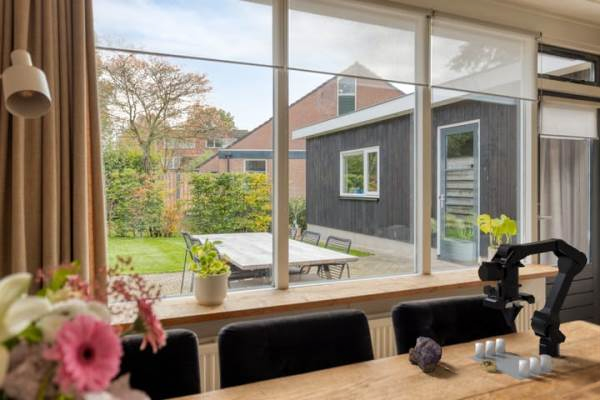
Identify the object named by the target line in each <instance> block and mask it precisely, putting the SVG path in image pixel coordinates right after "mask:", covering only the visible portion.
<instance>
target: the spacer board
mask: <svg viewBox="0 0 600 400" xmlns="http://www.w3.org/2000/svg"><path fill="white" fill-rule="evenodd" d="M468 358H469V359H471V360H473V361H475V362H478V363H480V364H481V361H483V360H489V359H490V360H492V361H494V362H496V365H497V371H498V372H500V373H503V374H505V375H507V376H508V377H511V378H513V379H516V380H519V381H522V380H523V381H524V380H526V379H529V378H533V377H538V376H540V375H544V374H547V373H551V372H555V370H554V369H552V357H551V356H549V355H540V358H539V357H535V356H530V357H529V360H528V359H526V358H523V357H521V356H518V355H516V354H512V353H510V352H508V351H506V339H504V338H496V339H495V341H494V340H486V341H485V343H482V342H475V355H473V356H469V357H468Z"/></svg>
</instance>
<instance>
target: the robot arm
mask: <svg viewBox="0 0 600 400" xmlns="http://www.w3.org/2000/svg"><path fill="white" fill-rule="evenodd" d="M551 252H552V253H553V256H555V257H556V258H557V261H556V263H557V269H558V272H557V274H556V276H555V279H554V282H553V284H552V286H551V289H550V291H549V293H548V296H547V298H546V301H545V303H544V306H543V307H542V309H540V310H538V309H535V310H534V311H533V314H532V316H531V318H530V319H529V320H530V321H531V322H530V326H531V329H532V331H533V333H534V336H535V337H538V338H539V341H538V342H539V344H538V355H539V356H541V355H549V356H551V358H557V359H558V358H559V359H564V358H565V356H564V355H562V354H560V350H561V347H560V346H561V345H560V344H562V343H563V344H564V343H565V342H566V338H567V336H566V335H565V334H564V333H563V332H562V331H561V330H560V326H561V319H560V312H561V310H562V307H563V305H564V303H565V300H566V297H567V295H568V293H569V291H570V288H571V285H573V282H574V278H575V277H577V276H578V275H579V274H580V273H581V272H583V271H584V268H585V267H586V265H587V264H588V260H589V259H588V257H587V254H586V253H584V251H581V250H579V249H578V248H576V247H574V246H572V245H570V243H569V244H568V243H567V242H566V241H565V240H564V239H562V238H555V237H554V238H553V237H551V238H549V239H544V240H543V239H542V240H537V241H533V242H532V241H531V242H527V243H512V242H511V243H510V242H507V243H505V242H503V243H500V244H499V246H498V247H497V250H496V252H494V255H493V256H492V258H491V260H490V261H486V260H482V261H481V265H479V267H478V270H477V276H478V278H479V280H480V282H484V283H485V282H496V286H491V285H490V284H488V285H486V284H485V285H484V286H483V294H484V296H487V297H485V298H484V299H483V306H484V307H488V308H490V309H494V310H501V311H502V313H503V316H504V319H505V321H506V325H507V326H511V327H512V326H513V324H514V322H515V320H516V318H517V317H518V315H519V314H520V312H521V311H522V309H524V307H525V306H524V305H521V302H527V304H529V305H532V304H536V297H535V296H534V295H533V294H530V293H526V292H523V291H522V292H520V288H522V287H523V284H522V283H520V268H525V267H526V265H525V264H523V263H522V262H521V261H522V260H524V259H526V258H527V257H529V256H533V255H538V254H539V255H541V254H544V253H545V254H546V253H551Z"/></svg>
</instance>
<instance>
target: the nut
mask: <svg viewBox="0 0 600 400" xmlns="http://www.w3.org/2000/svg"><path fill="white" fill-rule="evenodd" d="M479 367H480V370H483V371H484V372H486V373H496V372H497V371H498V370H497V365H496V362H494V361H492V360H490V359H489V360H483V361H481V363H480V364H479Z"/></svg>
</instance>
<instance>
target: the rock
mask: <svg viewBox="0 0 600 400" xmlns="http://www.w3.org/2000/svg"><path fill="white" fill-rule="evenodd" d="M442 355H443V348H442V346H440V344H439V343H437V342H436V341H435V340H434V339H432V338H430V337H427V336H426V337H425V336H419V337H418V338H416V345H415V346H414V347H410V349H409V351H408V357H407V358H408V361H409V363H411V364H413V365H414V364H416V366H417V365H418V367H419V368H420V369H421V370H422V371H424V372H426V373H432V372H434V371H435V368H436V367H437V365H438V364H439V362H440V361H441V359H442Z"/></svg>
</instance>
